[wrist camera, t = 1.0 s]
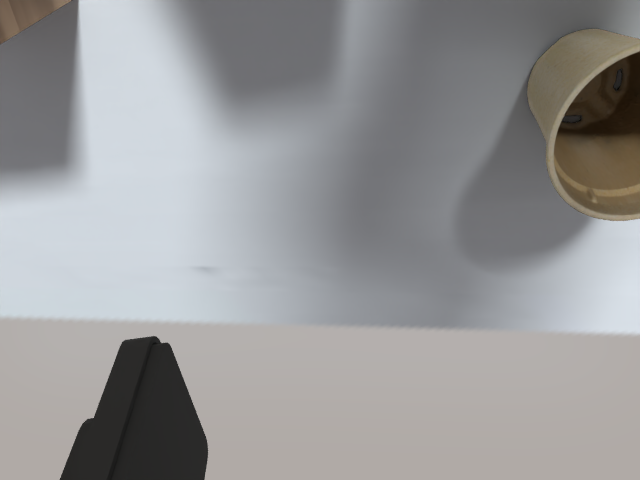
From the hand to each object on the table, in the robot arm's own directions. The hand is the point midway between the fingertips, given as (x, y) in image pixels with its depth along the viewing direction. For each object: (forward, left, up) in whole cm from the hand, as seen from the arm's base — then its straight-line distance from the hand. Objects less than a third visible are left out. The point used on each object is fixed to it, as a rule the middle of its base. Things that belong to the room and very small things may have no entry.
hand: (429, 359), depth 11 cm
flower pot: (+5, +14, -27) cm, 31 cm away
